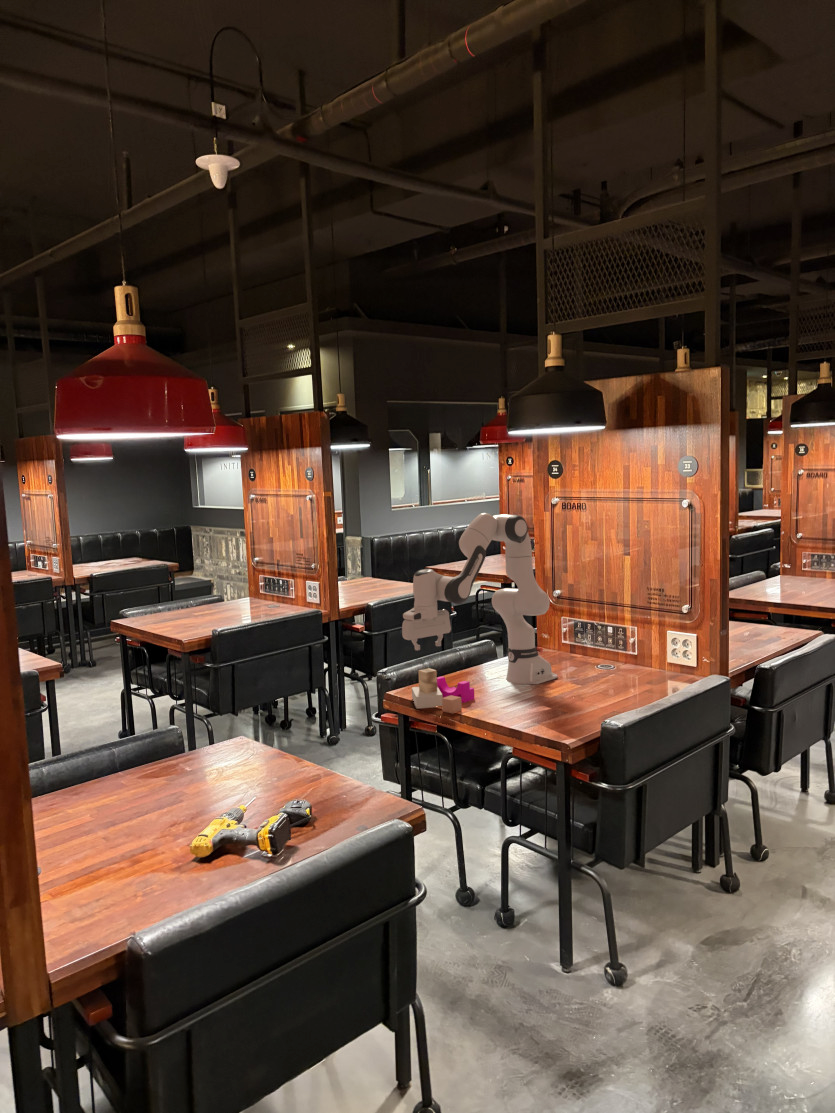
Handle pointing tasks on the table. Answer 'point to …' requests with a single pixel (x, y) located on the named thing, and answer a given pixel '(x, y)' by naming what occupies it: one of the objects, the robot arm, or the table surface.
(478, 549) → the robot arm
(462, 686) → the toy block
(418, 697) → the base block
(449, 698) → the terracotta cube
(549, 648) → the table surface
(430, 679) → the maple block
